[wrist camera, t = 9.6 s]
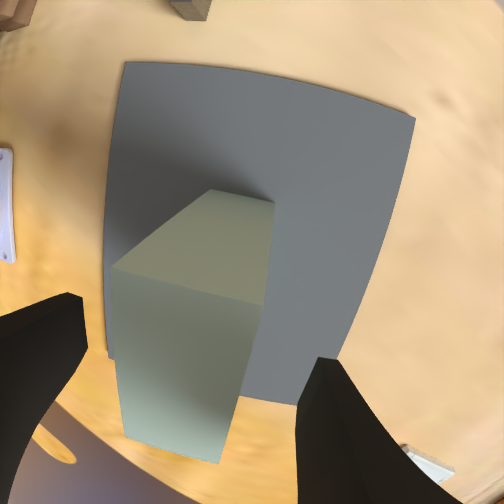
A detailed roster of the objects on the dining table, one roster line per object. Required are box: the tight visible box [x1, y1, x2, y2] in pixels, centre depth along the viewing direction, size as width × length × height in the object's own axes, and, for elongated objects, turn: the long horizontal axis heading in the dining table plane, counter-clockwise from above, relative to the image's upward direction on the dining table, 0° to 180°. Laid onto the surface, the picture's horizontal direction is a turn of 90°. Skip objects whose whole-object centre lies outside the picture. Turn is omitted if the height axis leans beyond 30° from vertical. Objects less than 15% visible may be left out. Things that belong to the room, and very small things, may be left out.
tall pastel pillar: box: [111, 189, 275, 464], centre depth 11 cm, size 3×6×9 cm, turn 168°
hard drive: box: [401, 445, 455, 484], centre depth 22 cm, size 2×8×12 cm
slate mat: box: [103, 62, 416, 406], centre depth 15 cm, size 14×18×1 cm
